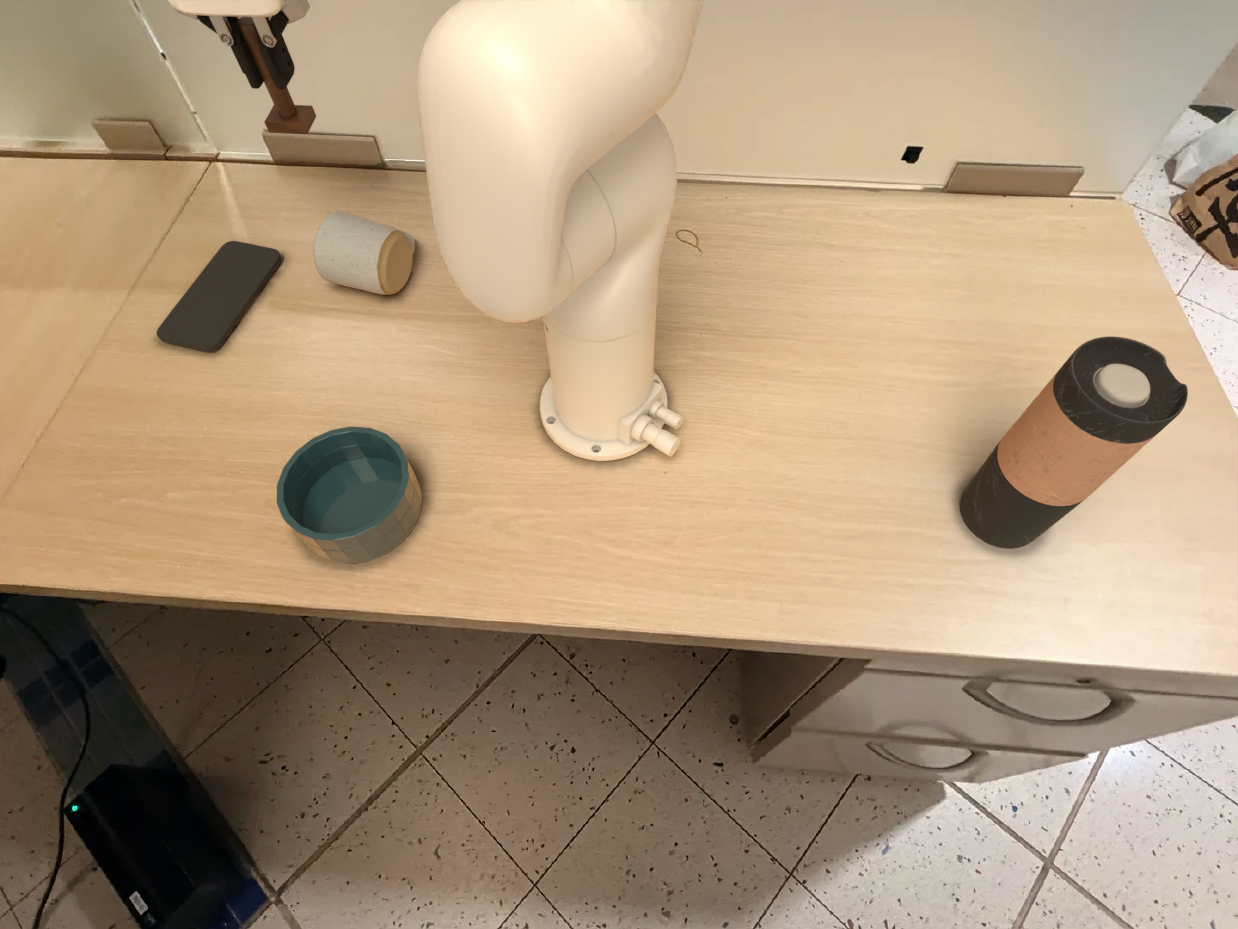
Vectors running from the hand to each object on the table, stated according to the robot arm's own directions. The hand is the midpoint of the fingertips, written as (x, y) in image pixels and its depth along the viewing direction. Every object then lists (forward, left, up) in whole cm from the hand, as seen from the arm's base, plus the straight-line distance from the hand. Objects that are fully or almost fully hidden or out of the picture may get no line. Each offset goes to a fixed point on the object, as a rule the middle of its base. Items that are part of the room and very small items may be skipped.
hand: (273, 79), depth 70 cm
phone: (+3, +15, -19) cm, 24 cm away
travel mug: (-76, -10, -19) cm, 79 cm away
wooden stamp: (0, 0, -5) cm, 5 cm away
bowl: (-29, +24, -19) cm, 42 cm away
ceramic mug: (-8, +2, -19) cm, 21 cm away
